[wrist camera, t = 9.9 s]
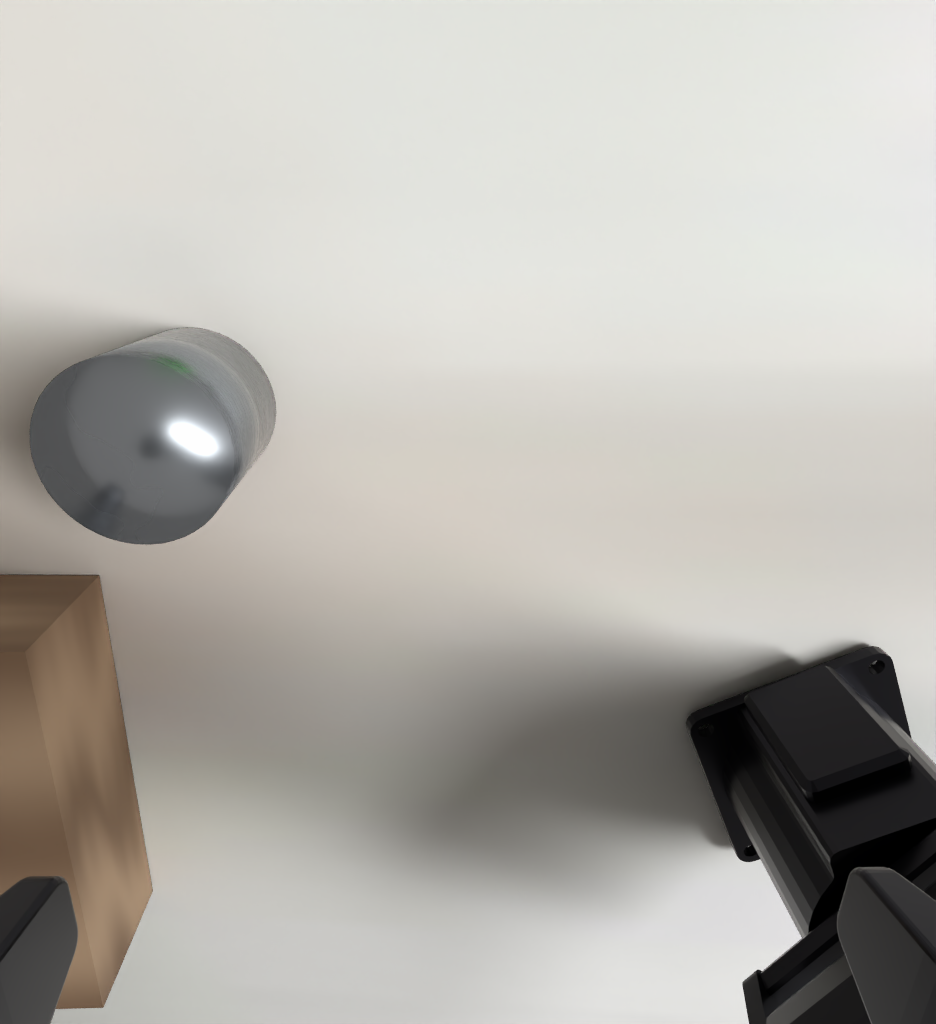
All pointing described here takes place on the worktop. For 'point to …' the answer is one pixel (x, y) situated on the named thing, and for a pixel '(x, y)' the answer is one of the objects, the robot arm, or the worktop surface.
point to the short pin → (152, 434)
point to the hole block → (69, 771)
